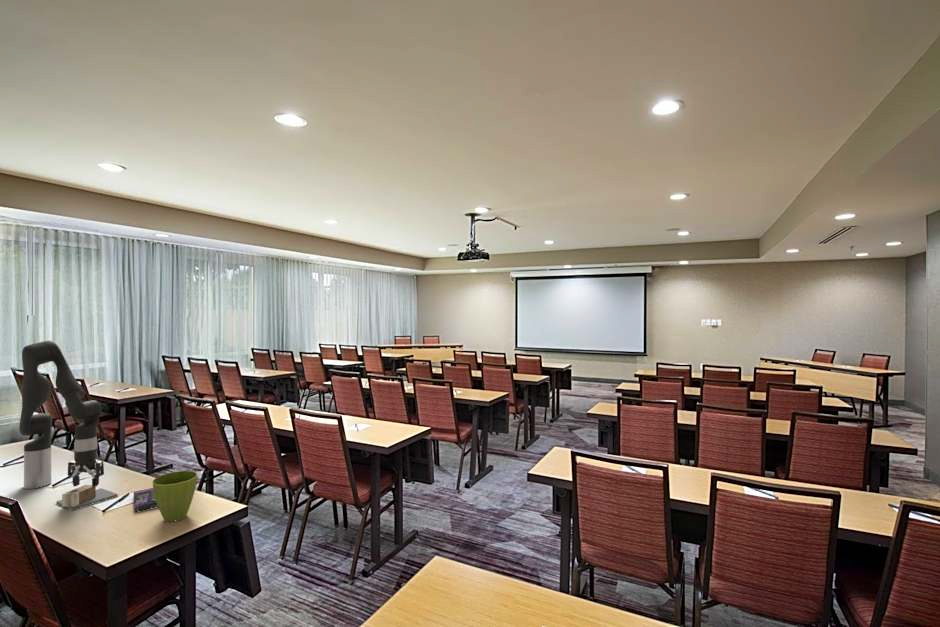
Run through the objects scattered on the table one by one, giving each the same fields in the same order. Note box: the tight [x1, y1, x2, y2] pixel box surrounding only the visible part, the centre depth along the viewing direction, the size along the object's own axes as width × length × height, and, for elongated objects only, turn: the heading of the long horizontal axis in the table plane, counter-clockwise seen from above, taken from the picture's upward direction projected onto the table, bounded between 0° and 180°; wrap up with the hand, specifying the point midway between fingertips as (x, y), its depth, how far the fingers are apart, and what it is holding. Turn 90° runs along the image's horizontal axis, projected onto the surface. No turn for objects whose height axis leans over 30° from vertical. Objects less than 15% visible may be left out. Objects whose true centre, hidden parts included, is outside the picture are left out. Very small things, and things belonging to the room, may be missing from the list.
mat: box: [55, 487, 118, 511], centre depth 193 cm, size 14×16×1 cm
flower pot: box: [152, 470, 199, 522], centre depth 177 cm, size 15×15×16 cm
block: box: [61, 484, 97, 508], centre depth 189 cm, size 5×5×10 cm
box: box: [133, 487, 158, 513], centre depth 193 cm, size 14×4×20 cm
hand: (85, 485), depth 192 cm, fingers open, 8 cm apart
